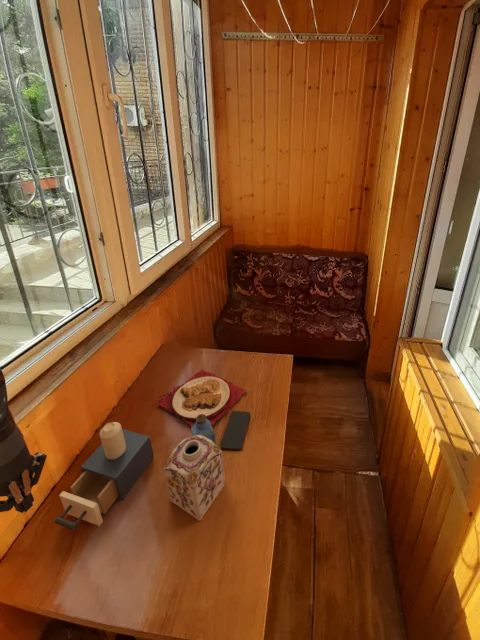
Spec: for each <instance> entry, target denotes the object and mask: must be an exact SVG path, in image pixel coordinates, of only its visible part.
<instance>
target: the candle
mask: <svg viewBox="0 0 480 640" xmlns="http://www.w3.org/2000/svg"><path fill="white" fill-rule="evenodd" d="M122 429H123V428H122V425H121V423H120V422H118V421H111V422H107V423H106V424H105V425H103V427H102V428H101V429H100V431H99V438H100V442H101V444H102V445H103V449H104V452H105V455H106V457H107V458H108V459H116V458H118V457H120V456H121V455H122V454H123V453H124V452H125V450H126V443H125V440H124V436H123V432H122Z"/></svg>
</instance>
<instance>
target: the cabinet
mask: <svg viewBox="0 0 480 640" xmlns="http://www.w3.org/2000/svg"><path fill="white" fill-rule="evenodd" d="M122 432H123V436H124V440H125V443H126V450H125V452H124V453H123V454H122V455H121V456H120V457H118V458H116V459H108V458H107V457H106V455H105V452H104V449H103V445H102V443H101V444H100V445H99V446H98V447H97V448H96V449H95V450H94V452H92V454H91V455H90V456H89V457H88V458H87V459H86V460H85V461H84V462H83V463H82V464H81V466H80V470H81V474H82V473H83V472H84V471H85V470H87V471H90V472H93V473H96V474H99V475H102V476H105V477H108V478H111V479H114V480H115V483H116V486H117V490H118V493H119V496H118V497H117V499H116V500H119V501H122V502H123V501H124V499H126V497H127V495H128V494H129V493H130V491H131V490H132V488H133V487H134V486H135V484H136V483H137V481H138V480H139V479H140V477H141V476H142V474H143V473H144V471H145V470H146V469H147V467H148V466H149V465H150V463H151V462H152V461H153V460H154V458H155V456H154V455H155V454H154V451H153V447H152V442H151V437H150V436H149V435H146V434H142V433H138V432H134V431H131V430H128V429H125V428H122Z"/></svg>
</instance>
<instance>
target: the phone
mask: <svg viewBox="0 0 480 640" xmlns="http://www.w3.org/2000/svg"><path fill="white" fill-rule="evenodd" d="M250 419H251V413H250V412H249V411H242V410H241V411H240V410H233V411H231V412H230V414H229V418H228V421H227V424H226V427H225V430H224V433H223V436H222V439H221V442H220V449H221V450H227V451H228V450H229V451H241V450H242V449H243V446H244V441H245V438H246V434H247V430H248V426H249V423H250Z"/></svg>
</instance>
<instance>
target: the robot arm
mask: <svg viewBox="0 0 480 640" xmlns="http://www.w3.org/2000/svg"><path fill="white" fill-rule="evenodd" d="M47 457H48V455H47V454H45V453H42V452H38V451H37V452H35V453H34V454H31V451H30V450H29V448H28V445H27V442H26V439H25V436H24V434H23V432H22V431H21V429H20V427H19V426H18V425H17V423H16V421H15V418H14V415H13V413H12V410H11V409H10V406H9V400H8V390H7V383H6V378H5V375H4V372H3V371H2V369H1V368H0V498H1V497H6V500H5V499H3V500H0V513H5V512H9V511H11V510H12V509H13V508H14V510H15V511H16V512H18V513H21V514H23V513H27V512H29V510H30V509H31V508H32V507H33V506H34V502H35V498H34V496H33V493H32V489H33V487H34V486H36V485H37V484H38V483H39V481H40V479H41V475H42V472H43V469H44V467H45V464H46V460H47Z"/></svg>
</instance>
